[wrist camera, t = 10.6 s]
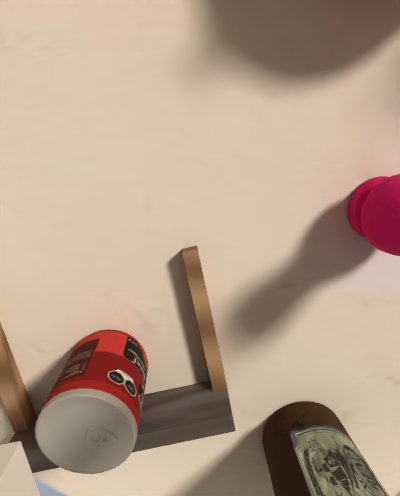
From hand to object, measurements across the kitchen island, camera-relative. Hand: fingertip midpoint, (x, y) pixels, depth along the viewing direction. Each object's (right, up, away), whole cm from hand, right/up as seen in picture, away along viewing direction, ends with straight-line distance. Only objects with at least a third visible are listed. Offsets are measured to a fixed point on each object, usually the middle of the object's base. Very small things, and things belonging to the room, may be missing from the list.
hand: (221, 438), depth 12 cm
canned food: (-10, -6, +27) cm, 30 cm away
